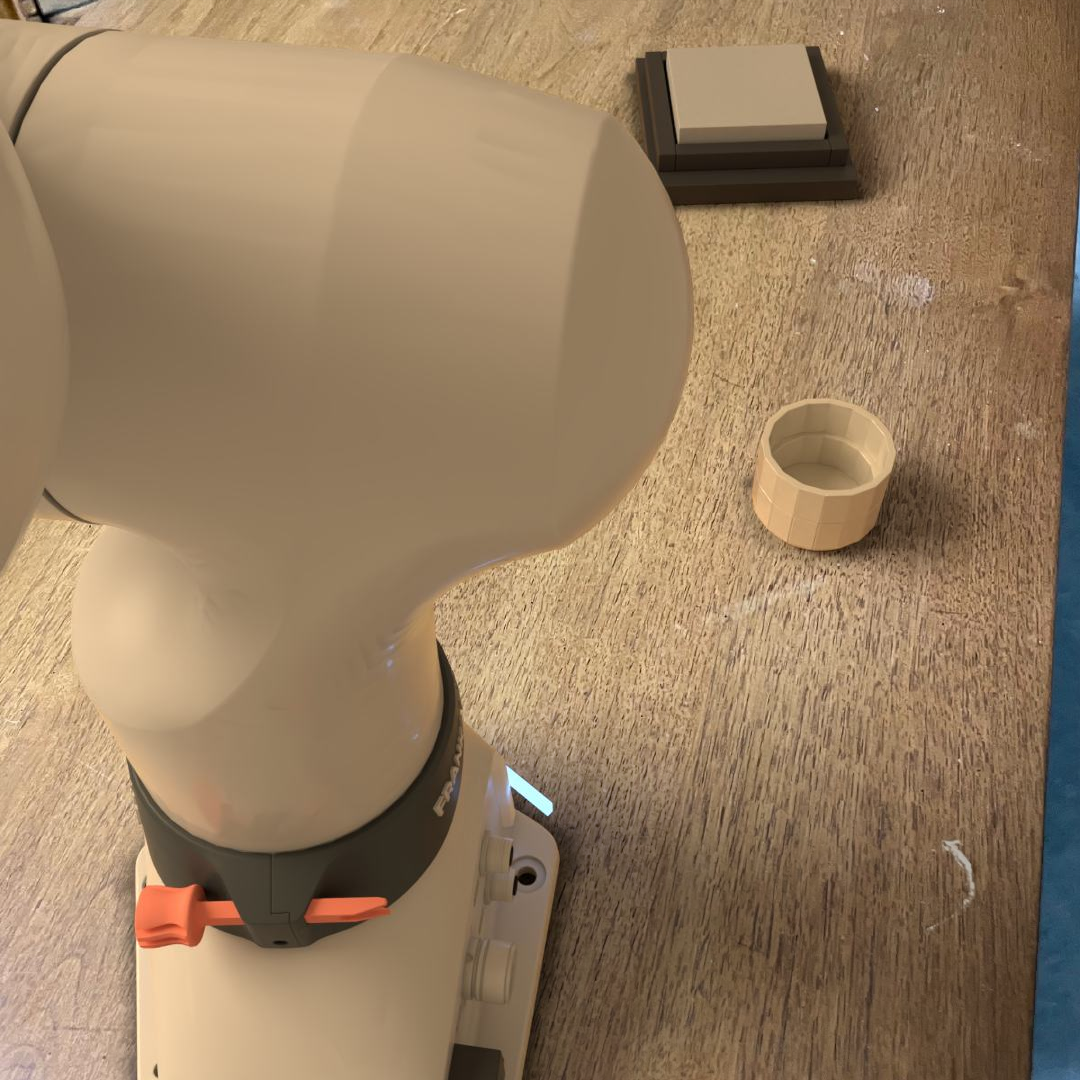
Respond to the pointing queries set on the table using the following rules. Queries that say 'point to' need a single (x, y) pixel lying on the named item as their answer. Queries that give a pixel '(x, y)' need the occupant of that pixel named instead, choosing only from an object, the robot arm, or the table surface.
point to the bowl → (822, 473)
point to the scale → (742, 151)
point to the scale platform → (744, 94)
